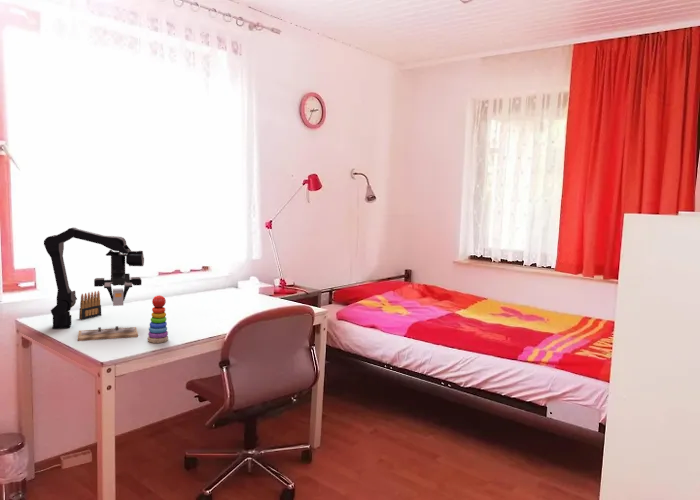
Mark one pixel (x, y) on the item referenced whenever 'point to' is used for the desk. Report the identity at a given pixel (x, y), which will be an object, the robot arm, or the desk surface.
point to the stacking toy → (158, 321)
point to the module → (118, 297)
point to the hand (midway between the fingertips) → (118, 301)
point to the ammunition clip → (90, 306)
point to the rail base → (107, 333)
